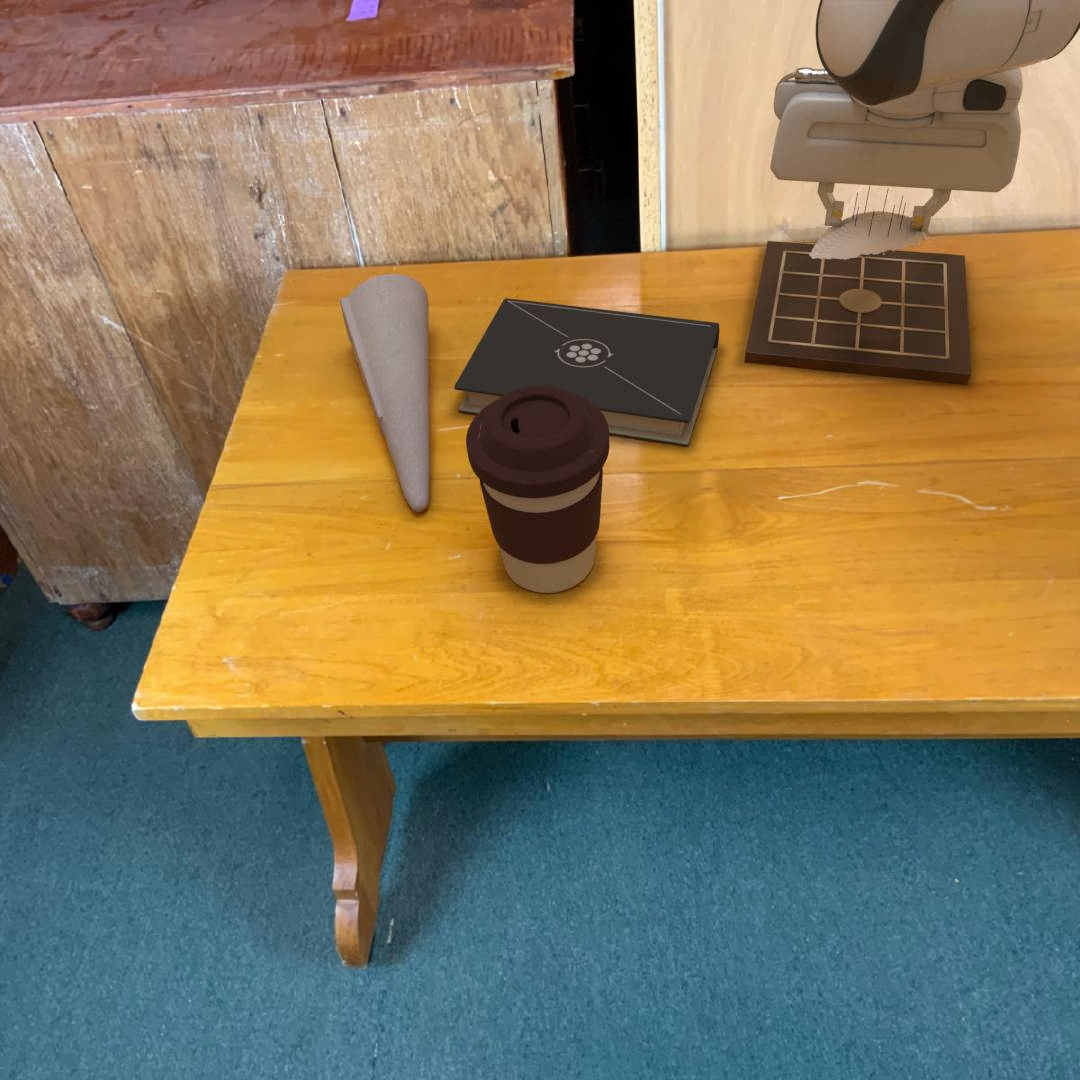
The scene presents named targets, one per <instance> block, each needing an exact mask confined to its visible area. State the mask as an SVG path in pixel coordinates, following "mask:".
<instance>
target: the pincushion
mask: <svg viewBox="0 0 1080 1080" xmlns="http://www.w3.org/2000/svg"><path fill="white" fill-rule="evenodd" d="M868 186H869V187H868V190H867V191H868V192H867V197H866V201H865V205H864V212H860V213H859V208H860V206H857V201H858V195H859V192H856V198H855V202H854V208H853V213H852V215H850V216H849V217H846V218H843V219H842V221H841V226H840V227H838V226H830V227H829V228H827V229H826V230H824V232H823V234H821V235H820V236H819V237H818V239H817V241H816V243H815V244H816V245H814V248H813V249H812V252H811V253H810V255H809V256H810V257H811V258H812V259H816V258H819V259H823V258H825V259H832V258H835V259H844V260H846V259H850V258H856V257H858V256H860V255H862V254H864V258H863V259H865V257H866V255H870V254H871V253H872V254H873V255H874V254H879V253H881V252H883V255H885V252H886V251H888V250H891V251H893V250H894V252H896V250H898V251H903V250H905V249H907V247H914V246H916V244H917V245H921V244H922V242H923V240H924V241H927V240H928V237H930V235H931V234H930V230H928V231H927V233H926V232H912V231H910V228H911V227H910V223H911V218H912V216H911V217H910V216H908V215H907V216H906V215H905V209H906V206H907V205H906V204H907V203H906V202H905V203H904V207H903V211H902V214H901V213H900V212H901V207H902V205H903V204H902V203H903V199H904V195H902V197H901V201H900V205H899V210H898V213H895V207H896V205H895V204H893V209H892V212H891V211H885V207H886V203H887V198H888V192H889V187H888V188H887V191H886V195H885V200H884V203H883V204H884V205H883V209H882V210H876V211H875V210H872V211H866V210H867V205H868V201H869V194H870V190H871V185H868ZM856 206H857V212H856V211H855V210H856ZM855 212H856V214H855Z"/></svg>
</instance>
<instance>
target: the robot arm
mask: <svg viewBox="0 0 1080 1080" xmlns="http://www.w3.org/2000/svg"><path fill="white" fill-rule="evenodd" d="M1079 31H1080V0H819V4H818V7H817V11H816V18H815V44H816V51H817V54H818V58H819V60H820V63H821V65H822V67H823V68H818V69H817V68H813V67H807V66H806V67H798V68H796V69H795V71H794V72H791V73H788V74H786V75H784V76H783V77H782V78H781V79H780V80H779V81H778V82H777V85H776V86H775V89H774V99H773V112H774V114H775V116H776V118H777V119H778V120H779V122H778V125H777V126H778V127H777V130H776V134H775V137H774V141H773V142H774V143H773V146H772V147H773V148H772V153H771V159H770V167H769V169H770V171H771V172H772V174H773V175H774V177H775V178H776V179H777V180H779V181H788V182H789V181H791V182H806V183H807V182H808V183H818V186H817V192H816V193H817V195H818V196H819V199H820V201H821V203H822V205H823V207H824V209H825V210H826V212H825V216H824V217H825V218H824V227H832V226H838V227H840V226H841V221H842V220H843V215H844V209H845V208H844V206H845V201H844V200H836V198H835V196H834V194H833V193H834V189H835V184H843V185H860V186H876V187H877V186H878V187H892V188H894V187H895V188H910V189H911V188H913V189H930V190H932V195H931V197H930V198H929V199H928V200H927V202H925V204H923V205H914V206H913V210H912V216H911V217H912V218H911V217H910V218H911V223H910V227H911V228H910V231H912V232H926V233H927V231H929V227H930V223H931V219H932V217H934V216H935V215H936V214H937V213H938V212H939V211H940V210H941V209H942V208H943V207H944V206H945V205H946V204H947V203H948V202H949V201H950V198H951V194H952V191H961V192H980V193H999V192H1001V191H1003V189H1005V187H1007V186H1008V185H1010V184H1011V182H1012V180H1013V178H1014V174H1015V171H1016V166H1017V164H1018V163H1017V162H1018V157H1019V151H1020V144H1021V135H1022V127H1021V117H1020V111H1019V104H1020V101H1021V97H1022V93H1023V86H1024V84H1023V83H1024V82H1023V75H1022V71H1021V69H1022V68H1026V67H1029V66H1033V65H1036V64H1038V63H1040V62H1043V61H1047V60H1050V59H1053V58H1055V57H1056V56H1058V55H1059V54H1060V53H1061V52H1063V51H1064V50H1065V49H1066V48H1067V47H1068V45H1069V44H1070V43H1071V42H1072V41H1073V39H1074V38H1075V37H1076V35H1077V34H1078V32H1079Z"/></svg>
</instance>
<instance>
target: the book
mask: <svg viewBox="0 0 1080 1080" xmlns="http://www.w3.org/2000/svg"><path fill="white" fill-rule="evenodd" d="M719 340H720V323H719V322H715V321H706V320H695V319H689V318H680V317H671V316H662V315H655V314H654V315H653V314H645V313H637V312H629V311H619V310H613V309H612V310H610V309H603V308H602V309H601V308H596V307H595V308H593V307H587V306H585V307H584V306H579V305H578V306H576V305H570V304H569V305H568V304H560V303H559V304H558V303H551V302H542V301H535V300H527V299H515V298H509V297H505V298H504V299H503V300H502V301H501V304H500V305H499V307H498V309H497V311H496V313H494V316H493V318H492V319H491V321H490V323H489V324H488V326H487V327H486V329H485V332H484V334H483V335H482V337H481V339H480V340H479V342H478V344H477V346H476V347H475V349H474V351H473V353H472V354H471V356H470V357H469V359H468V361H467V363H466V365H465V367H464V368H463V370H462V372H461V374H460V375H459V378H458V379H457V381H456V382H455V384H454V390H455V391H461V392H466V395H465V396H464V398H463V400H462V402H461V403H460V405H459V407H458V409H457V411H458V412H459V413H461V414H468V415H473V416H477V414H478V413H479V412H480V411H481V410H482V409H483V408H485V407H486V406H487V405H489V404H490V403H492V402H493V401H495V400H497V399H499V398H500V397H502V396H503V395H505V394H506V393H508V392H510V391H513V390H516V389H519V388H522V387H527V386H537V385H543V386H552V387H557V388H560V389H563V390H566V391H568V392H570V393H574V394H576V395H579V396H581V397H583V398H585V399H587V400H588V401H590V402H591V403H593V404H594V405H595V406H596V407H597V408H598V409H599V410H600V411H601V412H602V413H603V415H604V417H605V419H606V421H607V423H608V427H609V436H614V437H621V438H627V439H634V440H640V441H641V440H642V441H646V442H655V443H661V444H668V445H674V446H680V447H689V446H690V443H691V439H692V437H693V433H694V430H695V427H696V424H697V419H698V417H699V413H700V411H701V407H702V404H703V400H704V396H705V393H706V390H707V387H708V384H709V381H710V380H709V379H710V377H711V374H712V369H713V367H714V363H715V360H716V357H717V353H718V347H719V342H720V341H719Z"/></svg>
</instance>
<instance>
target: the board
mask: <svg viewBox="0 0 1080 1080" xmlns="http://www.w3.org/2000/svg"><path fill="white" fill-rule="evenodd" d="M816 244H817V243H815V244H814V243H801V242H788V241H787V242H786V241H775V240H774V241H773V240H767V242H766V247H765V253H764V257H763V263H762V266H761V267H762V268H761V271H760V277H759V283H758V286H757V287H758V288H757V292H756V298H755V302H754V308H753V313H752V319H751V323H750V328H749V333H748V338H747V344H746V349H745V353H744V354H745V355H744V363H750V364H759V365H769V366H779V367H789V368H790V367H791V368H799V369H811V370H821V371H830V372H839V373H849V374H857V375H858V374H860V375H871V376H880V377H889V378H897V379H909V380H916V381H917V380H918V381H928V382H937V383H948V384H958V385H966V386H967V385H969V382H970V379H971V378H972V377H971V376H972V365H971V364H972V363H971V346H970V343H971V342H970V328H969V327H970V326H969V324H970V323H969V308H968V288H967V271H966V269H967V268H966V255H964V254H951V253H936V252H925V251H924V252H923V251H911V250H910V251H909V250H896V252H894V250H893V251H891V250H888V251H886V252H885V255H883V252H881V253H879V254H874V255H873V254H872V253H871V254H870V255H866V257H865V259H863V258H864V254H862V255H860V256H858V257H856V258H850V259H846V260H844V259H835V258H832V259H825V258H823V259H819V258H816V259H812V258H811V257H810V256H809V255H810V253H811V252H812V249H813V248H814V245H816Z"/></svg>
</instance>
